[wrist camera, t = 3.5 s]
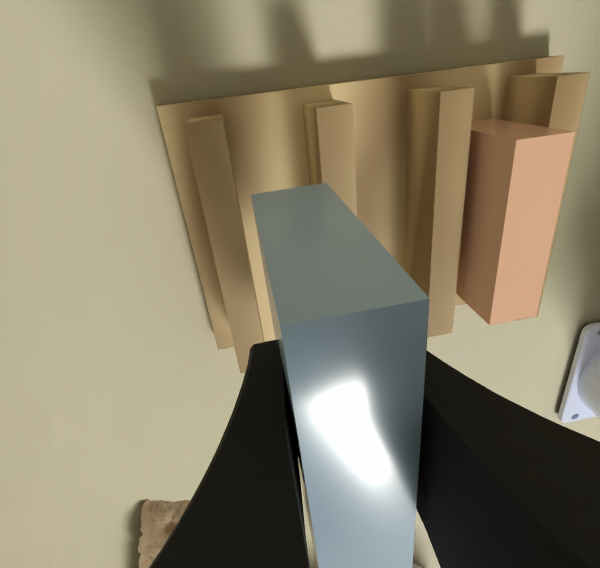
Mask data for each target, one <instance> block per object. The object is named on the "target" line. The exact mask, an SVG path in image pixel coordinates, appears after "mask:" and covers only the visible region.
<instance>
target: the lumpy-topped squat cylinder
mask: <svg viewBox="0 0 600 568" xmlns="http://www.w3.org/2000/svg"><path fill="white" fill-rule="evenodd" d="M412 568H423V567H421V566H419V565H417V564H413V565H412Z"/></svg>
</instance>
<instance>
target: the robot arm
mask: <svg viewBox="0 0 600 568" xmlns="http://www.w3.org/2000/svg"><path fill="white" fill-rule="evenodd" d="M595 416H597V417H598V418H599V419H600V322H598V323H593V324H589V325H587V326H585V327H584V328H583V329H582V331H581V335H580V338H579V342H578V346H577V349H576V353H575V356H574V360H573V363H572V367H571V370H570V374H569V378H568V381H567V385H566V388H565V392H564V395H563V399H562V402H561V406H560V410H559V413H558V419H559V420H560V421H561V422H563V423H568V422H573V421H577V420H582V419H586V418H591V417H595ZM416 508H417V510H418V513H419V515H420V517H421V519H422V522H423V524H424V526H425V528H426V531H427V533H428V536H429V538H430V541H431V544H432V546H433V549H434V551H435V554H436V557H437V559H438V562H439V564H440V567H441V568H600V442H599V441H596V440H594V439H592V438H589V437H587V436H585V435H582V434H580V433H578V432H575V431H573V430H570V429H568V428H566V427H563V426H561V425H559V424H557V423H555V422H552V421H550V420H548V419H546V418H544V417H542V416H540V415H538V414H536V413H534V412H532V411H530V410H528V409H526V408H524V407H522V406H520V405H518V404H516V403H513V402H511V401H509V400H508V399H506V398H504V397H502V396H500V395H498V394H496V393H495V392H493V391H491V390H489V389H487V388H486V387H484V386H482V385H481V384H479V383H477V382H475V381H474V380H472V379H470V378H469V377H467V376H465V375H464V374H462V373H460V372H459V371H457V370H456V369H454V368H452V367H451V366H449V365H448V364H446V363H445V362H443V361H442V360H440V359H439V358H437V357H436V356H434V355H433V354H431V353H430V352H428V351H427V350H426V364H425V380H424V395H423V411H422V426H421V442H420V457H419V473H418V488H417V503H416ZM149 568H310V563H309V558H308V550H307V543H306V535H305V525H304V514H303V504H302V493H301V483H300V472H299V462H298V453H297V447H296V441H295V435H294V429H293V423H292V417H291V411H290V405H289V399H288V393H287V387H286V381H285V375H284V369H283V364H282V359H281V354H280V350H279V345H278V341H277V340H273V341H268V342H263V343H257V344H253V346H252V347H251V348H250V352H249V359H248V364H247V368H246V372H245V376H244V380H243V383H242V386H241V389H240V392H239V395H238V398H237V401H236V404H235V407H234V410H233V413H232V415H231V418H230V420H229V422H228V425H227V427H226V430H225V432H224V434H223V437H222V439H221V442H220V444H219V446H218V448H217V451H216V453H215V455H214V457H213V459H212V461H211V463H210V465H209V467H208V469H207V471H206V473H205V475H204V477H203V479H202V481H201V483H200V485H199V487H198V488H197V490H196V492H195V494H194V496H193V497H192V499H191V501H190V503H189V504H188V506H187V508H186V509H185V511H184V513H183V515H182V516H181V518H180V520H179V522H178V523H177V525H176V527H175V528H174V530H173V532H172V533H171V535H170V536H169V538H168V540H167V541H166V543H165V544H164V546H163V548H162V549H161V551H160V552H159V554H158V555H157V556H156V558H155V559H154V561H153V562H152V564H151V565H150V567H149Z"/></svg>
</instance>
